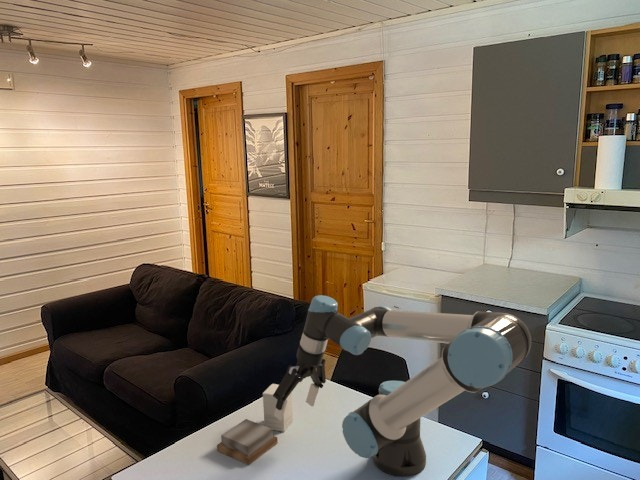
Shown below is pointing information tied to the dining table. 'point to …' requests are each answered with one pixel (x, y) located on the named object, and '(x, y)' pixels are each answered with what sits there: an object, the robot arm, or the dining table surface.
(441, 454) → the dining table surface
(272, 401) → the supplement box
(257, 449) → the tower plinth
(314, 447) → the dining table surface
